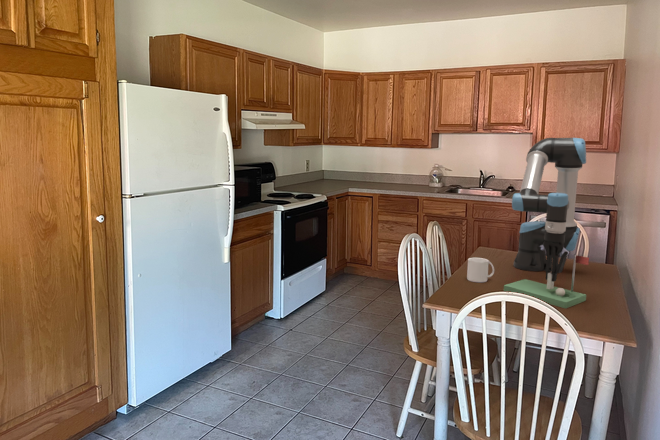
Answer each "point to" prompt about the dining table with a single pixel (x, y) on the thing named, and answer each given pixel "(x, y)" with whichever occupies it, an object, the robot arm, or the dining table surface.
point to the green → (546, 293)
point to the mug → (478, 269)
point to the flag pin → (576, 260)
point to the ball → (560, 292)
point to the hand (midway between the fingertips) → (550, 288)
